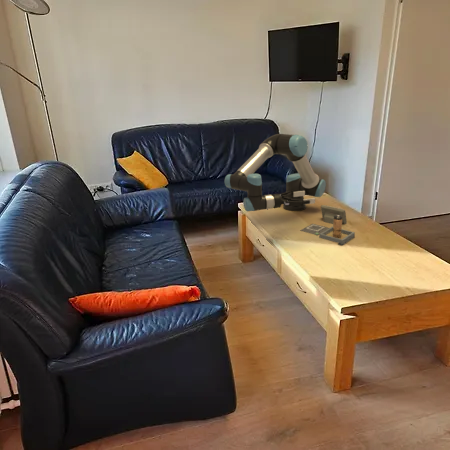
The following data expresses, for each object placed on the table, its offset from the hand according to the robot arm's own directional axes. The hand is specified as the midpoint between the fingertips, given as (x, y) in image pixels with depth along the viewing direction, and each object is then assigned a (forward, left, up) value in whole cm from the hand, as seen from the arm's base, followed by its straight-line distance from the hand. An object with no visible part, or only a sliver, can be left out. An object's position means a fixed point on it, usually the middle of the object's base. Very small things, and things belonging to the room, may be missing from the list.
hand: (309, 196), depth 216 cm
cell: (-8, +14, -23) cm, 28 cm away
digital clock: (-28, +1, -24) cm, 37 cm away
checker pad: (-10, -1, -24) cm, 26 cm away
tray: (-8, +14, -24) cm, 28 cm away
